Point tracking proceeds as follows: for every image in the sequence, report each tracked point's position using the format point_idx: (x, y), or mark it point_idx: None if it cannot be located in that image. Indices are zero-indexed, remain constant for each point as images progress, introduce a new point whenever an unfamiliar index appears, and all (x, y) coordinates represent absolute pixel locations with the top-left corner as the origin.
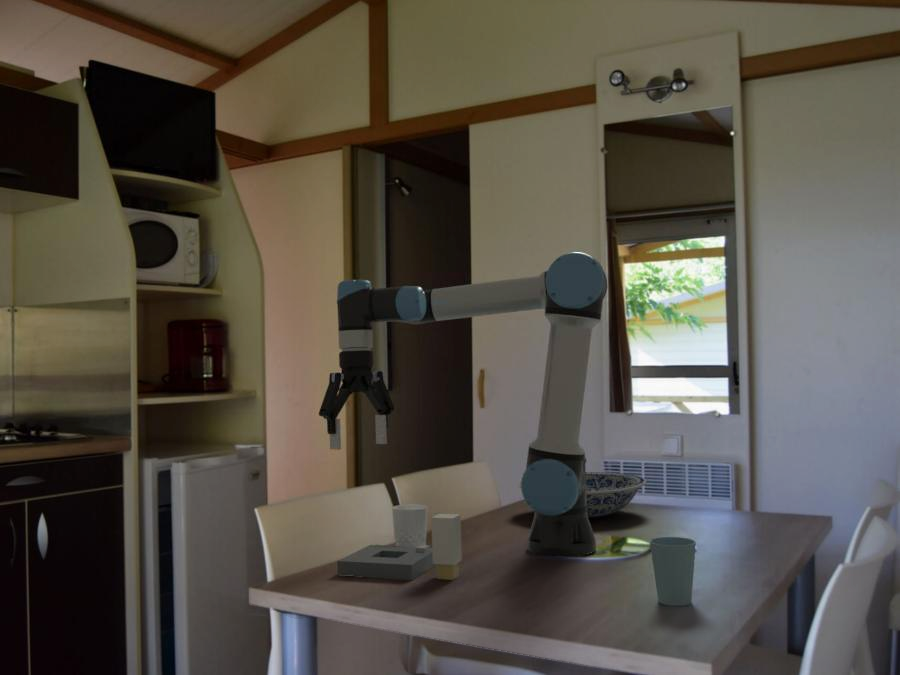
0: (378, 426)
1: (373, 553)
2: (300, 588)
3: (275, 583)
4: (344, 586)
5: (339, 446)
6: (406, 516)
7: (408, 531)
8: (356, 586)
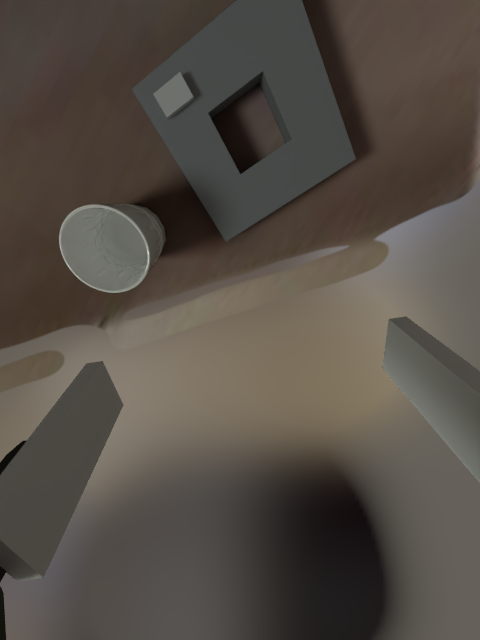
0: (75, 467)
1: (267, 164)
2: (441, 129)
3: (433, 199)
4: (392, 70)
5: (407, 324)
6: (137, 220)
7: (144, 215)
8: (381, 48)
